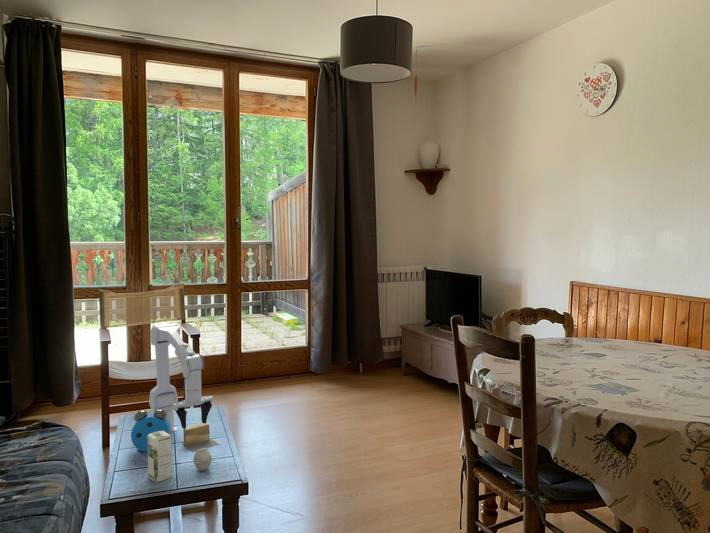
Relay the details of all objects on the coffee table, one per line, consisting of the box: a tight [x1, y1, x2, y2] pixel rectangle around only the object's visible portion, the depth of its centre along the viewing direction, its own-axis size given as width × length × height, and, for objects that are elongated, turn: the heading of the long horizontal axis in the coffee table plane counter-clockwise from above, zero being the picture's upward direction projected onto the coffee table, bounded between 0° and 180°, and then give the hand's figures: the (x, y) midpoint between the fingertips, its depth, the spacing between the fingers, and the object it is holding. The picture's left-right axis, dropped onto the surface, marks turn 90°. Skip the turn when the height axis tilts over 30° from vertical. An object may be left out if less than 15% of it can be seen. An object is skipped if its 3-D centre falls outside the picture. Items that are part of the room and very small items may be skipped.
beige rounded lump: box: [192, 448, 213, 472], centre depth 181 cm, size 6×7×7 cm
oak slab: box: [182, 422, 211, 446], centre depth 203 cm, size 3×9×6 cm, turn 131°
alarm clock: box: [130, 409, 172, 453], centre depth 197 cm, size 13×6×15 cm, turn 102°
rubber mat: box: [180, 438, 220, 453], centre depth 202 cm, size 12×10×1 cm
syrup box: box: [147, 431, 173, 483], centre depth 175 cm, size 6×6×14 cm
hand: (194, 425), depth 194 cm, fingers open, 7 cm apart
